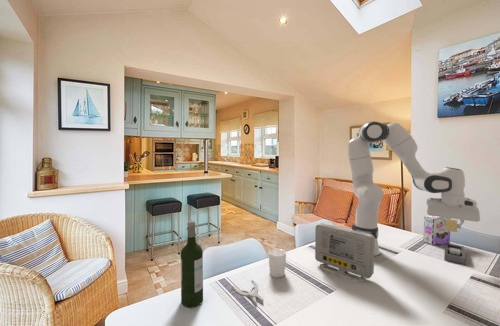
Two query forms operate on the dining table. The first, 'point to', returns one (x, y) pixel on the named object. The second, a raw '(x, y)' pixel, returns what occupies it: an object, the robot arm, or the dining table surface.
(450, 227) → the tan wooden toy cube
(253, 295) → the pliers
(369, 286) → the dining table surface
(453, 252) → the cube in holder slot
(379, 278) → the dining table surface
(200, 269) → the wine bottle
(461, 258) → the grey cube holder tray
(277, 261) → the white cup
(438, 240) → the candy box
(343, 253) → the network device
